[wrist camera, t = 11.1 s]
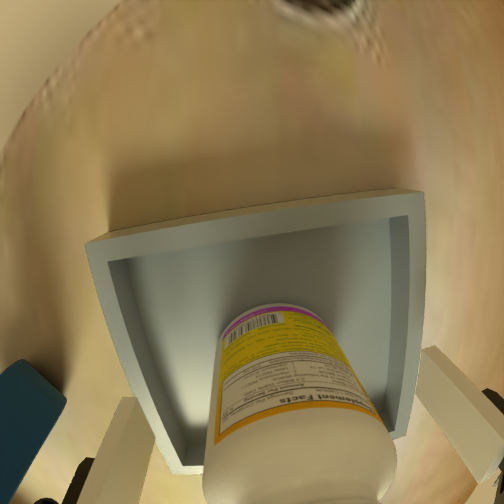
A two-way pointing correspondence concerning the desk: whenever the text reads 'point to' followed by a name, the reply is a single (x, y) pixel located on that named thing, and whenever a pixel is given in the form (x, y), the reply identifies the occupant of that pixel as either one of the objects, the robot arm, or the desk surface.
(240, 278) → the tray
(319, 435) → the supplement bottle
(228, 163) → the desk surface
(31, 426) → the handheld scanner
